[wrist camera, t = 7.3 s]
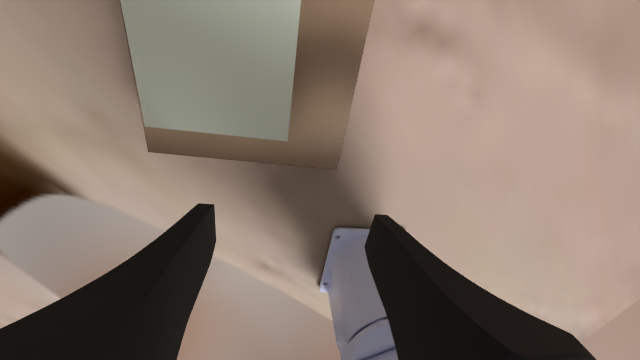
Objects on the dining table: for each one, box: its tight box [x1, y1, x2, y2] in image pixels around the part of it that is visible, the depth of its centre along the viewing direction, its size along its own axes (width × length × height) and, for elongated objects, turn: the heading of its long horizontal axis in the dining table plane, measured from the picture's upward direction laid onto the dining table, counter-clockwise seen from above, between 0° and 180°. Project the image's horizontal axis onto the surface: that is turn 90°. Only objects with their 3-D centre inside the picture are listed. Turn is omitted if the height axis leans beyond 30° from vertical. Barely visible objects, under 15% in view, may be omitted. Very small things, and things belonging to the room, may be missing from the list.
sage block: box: [120, 0, 301, 141], centre depth 10 cm, size 5×5×6 cm
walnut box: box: [120, 0, 374, 170], centre depth 15 cm, size 12×12×4 cm
